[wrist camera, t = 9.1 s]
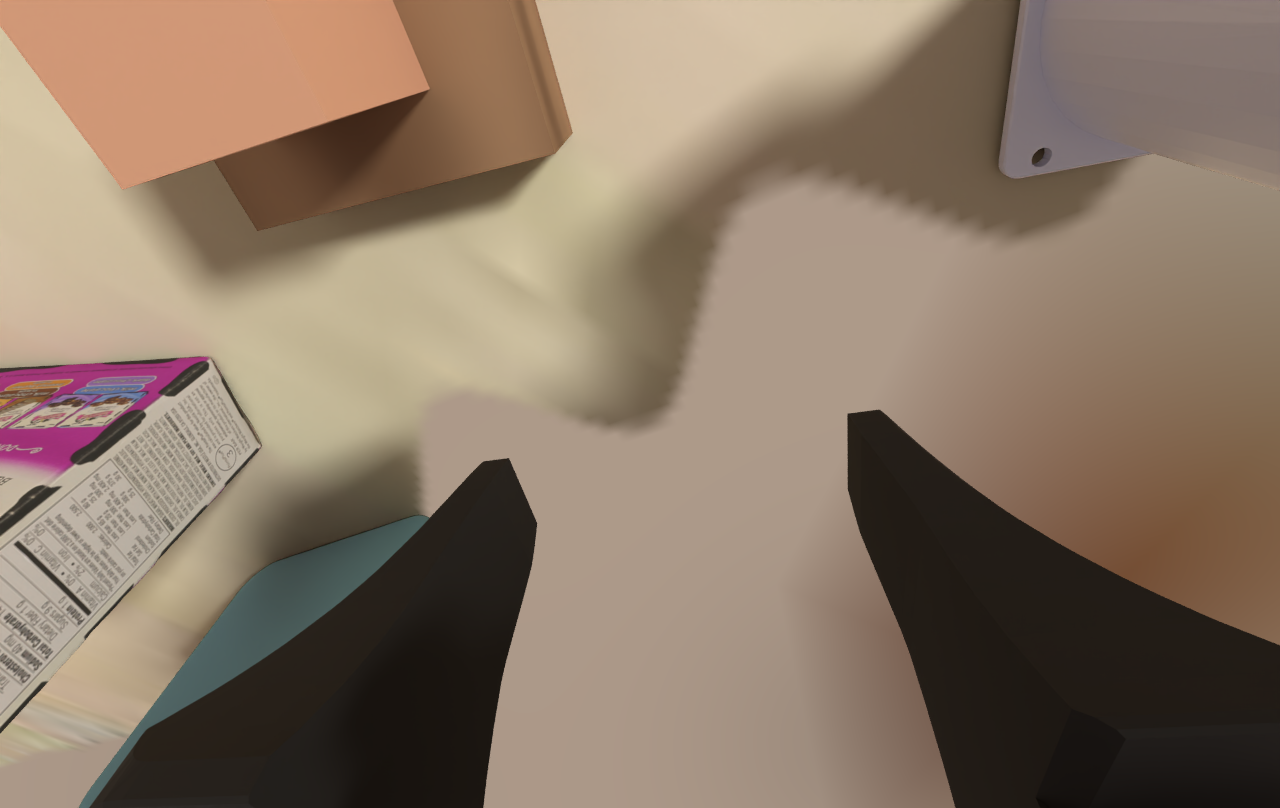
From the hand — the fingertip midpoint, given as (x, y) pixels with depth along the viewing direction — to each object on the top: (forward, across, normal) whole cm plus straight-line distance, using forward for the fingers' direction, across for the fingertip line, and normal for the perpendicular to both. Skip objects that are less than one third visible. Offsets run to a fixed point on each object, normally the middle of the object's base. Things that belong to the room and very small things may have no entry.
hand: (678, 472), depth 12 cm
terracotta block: (+6, +7, -10) cm, 14 cm away
